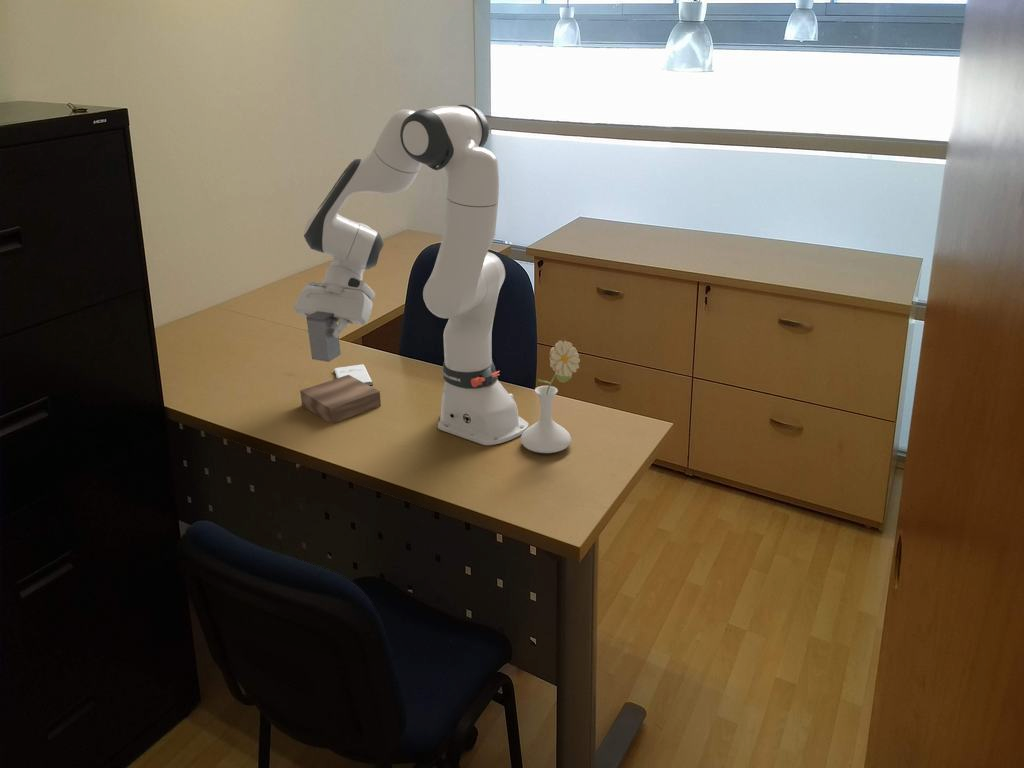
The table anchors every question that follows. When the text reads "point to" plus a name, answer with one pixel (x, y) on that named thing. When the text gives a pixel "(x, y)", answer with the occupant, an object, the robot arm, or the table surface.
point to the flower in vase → (546, 431)
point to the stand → (340, 398)
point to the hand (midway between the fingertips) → (322, 335)
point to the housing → (323, 336)
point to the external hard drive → (354, 373)
